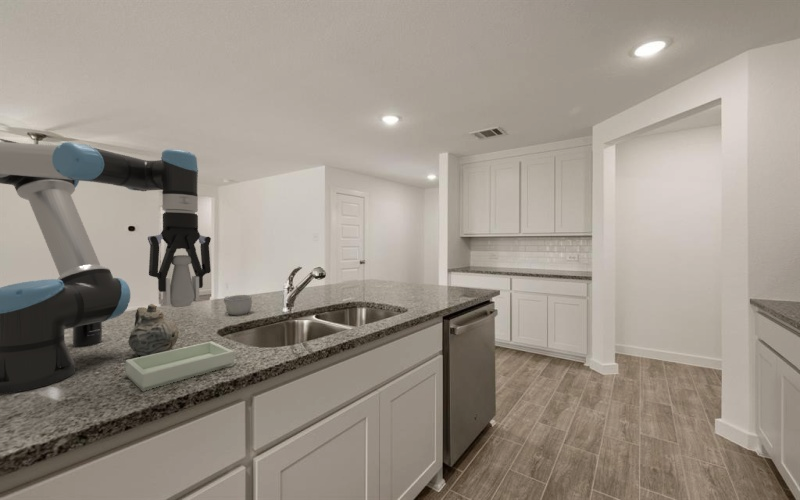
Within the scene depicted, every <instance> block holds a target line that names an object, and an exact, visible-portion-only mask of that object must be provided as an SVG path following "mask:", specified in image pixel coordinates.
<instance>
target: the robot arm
mask: <svg viewBox="0 0 800 500" xmlns="http://www.w3.org/2000/svg"><path fill="white" fill-rule="evenodd" d="M160 158H161V159H160V160H159V159H158V160H145V159H142V158H137V157H134V156H129V155H125V154H120V153H116V152H112V151H108V150H104V149H100V148H96V147H93V146H92V145H91V146H90V145H88V144H83V143H75V142H69V141H67V142H65V141H64V142H62V143H61V144H60V145H57V144H56V145H55V144H41V143H40V144H39V143H38V144H37V143H23V142H22V143H21V142H16V141H12V140H7V139H3V138H0V184H1V185H2V184H3V185H11V186H13V187H14V190H15V191H16V194H17V195H18V196H19V198H21V199H24V200H27V201H28V202H29V204H30V207H31V210H32V212H33V214H34V217H35V219H36V221H37V222H36V223H37V224H38V226H39V229H40V230H41V233H42V235H43V239H44V240H45V244H46V246H47V249H48V251H49V253H50V256H51V258H52V260H53V262H54V265H55V267H56V269H57V272H58V274H59V277H58V278H57V279H56V278H55V279H54V278H53V279H52V278H51V279H50V278H49V279H41V280H40V279H39V280H30V281H23V282H17V283H13V284H8V285H4V286H2V287H0V395H4V394H5V395H6V394H13V393H19V392H23V391H29V390H33V389H38V388H42V387H45V386H49V385H52V384H56V383H58V382H60V381H63V380H65V379H68V378H69V377H71V376H73V375H74V374H75V372H76V369H75V368H76V363H75V361H74V359H73V357H72V355H71V352H70V351H69V349H68V347H67V345H66V342H65V341H66V340H65V330H68V329H73V327H77V326H82V325H87V324H91V323H96V322H102V323H104V322H106V321H108V320H112V319H115V318H118V317H120V316H122V314H123V313H125V311H126V310H127V308H128V307H129V303H130V301H131V290H130V286H129V283H127V281H125V280H123V279H122V278H118V277H113V274H112V271H111V269H110V268H108V267H105V266H102V265H101V263H100V261H99V258H98V256H97V254H96V252H95V249H94V247H93V244H92V242H91V240H90V237H89V235H88V233H87V230H86V228H85V226H84V223H83V221H82V218H81V216H80V214H79V212H78V209H77V206H76V204H75V202H74V199H73V197H72V194H73V193H74V192H75V191H76V187H77V186H78V185H79V182H90V183H100V184H105V185H113V186H117V187H123V188H124V187H125V188H126V189H128V190H131V191H138V192H139V191H140V192H148V191H162V192H161V193H162V211H165V212H163V213H162V230H161V233H160V234H158V235H150V236H149V235H148V237H147V240H148V241H147V242H148V243H149V246H150V247H149V260H148V261H149V263H148V264H149V265H148V275H149V277H153V278H156V279H157V280H158V281H157V287H158V289H157V290H158V292H160V293H162V304H163V305H165V306H171V303H170V284H171V278H168V277H167V276H168V273H169V270H170V268H171V265H172V263H171V262H172V259H173V256H175V253H176V252H177V250H181V249H183V250H185V251H186V253H187V256H190V257H191V264H190V265H191V267H192V269H193V272H194V275H191V281H192V285H193V290H194V294H195V298H194V299H193V301H194V302H200V289H203V287H204V276H205V275H207V274H210V273H211V257H210V255H211V254H210V243H211V239H212V238H211V237H210V236H204V235H201V233H200V232H199V215H197V214H196V213H197V212H198V210H199V207H198V205H199V203H198V175H199V174H198V173H199V168H198V159H197V156H196V154H193V153H192V152H189V151H186V150H182V149H181V150H180V149H171V148H170V149H165V150H163V151H162V153H161V157H160ZM162 240H163V241H164V242H165V243H166V248H165V253H164V256H163V259H162V262H161V265H160V267H159V262H160V261H159V260H160V259H159V258H160V257H159V256H160V244H161V243H162ZM197 241H199V244H200V246H199V247H200V259H199V256H198V253H197V249H196V246H195V244H196V243H197ZM200 260H201V261H200ZM200 262H201V263H200ZM193 301H192V302H193Z"/></svg>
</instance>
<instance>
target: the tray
mask: <svg viewBox="0 0 800 500" xmlns="http://www.w3.org/2000/svg"><path fill="white" fill-rule="evenodd" d="M233 366H235V351H234V350H233V349H230V348H228V347H225V346H223V345H220V344H218V343H217V342H214V341H212V340H211V341H206V342H202V343H197V344H192V345H188V346H184V347H180V348H174V349H170V350H169V351H165V352H160V353H156V354H151V355H147V356H140V357H139V356H138V357H134V358H129V359H126V360H125V377H127V378H128V379H129V380H130V381H132V383H133V384H135V386H137V388H138V389H140V391H142V392H146V390H147V391H150V390H153V389H152V388H154V389H157V388H160V387H159V386H161V387H164V386H167V385H166V384H168V385H171V384H174V383H173V382H175V383H177V381H178V382H182V381H184V379H185V380H189V379H191V377H192V378H195V377H199V376H201V375H206V374H209V373H212V371H213V372H216V371H219V370H222V368H223V369H225V368H226V369H227V368H229V367H230V368H231V367H233ZM215 370H216V371H215ZM205 373H206V374H205ZM198 375H199V376H198ZM194 376H195V377H194ZM170 383H171V384H170ZM163 385H164V386H163ZM156 387H157V388H156ZM149 389H150V390H149Z"/></svg>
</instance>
